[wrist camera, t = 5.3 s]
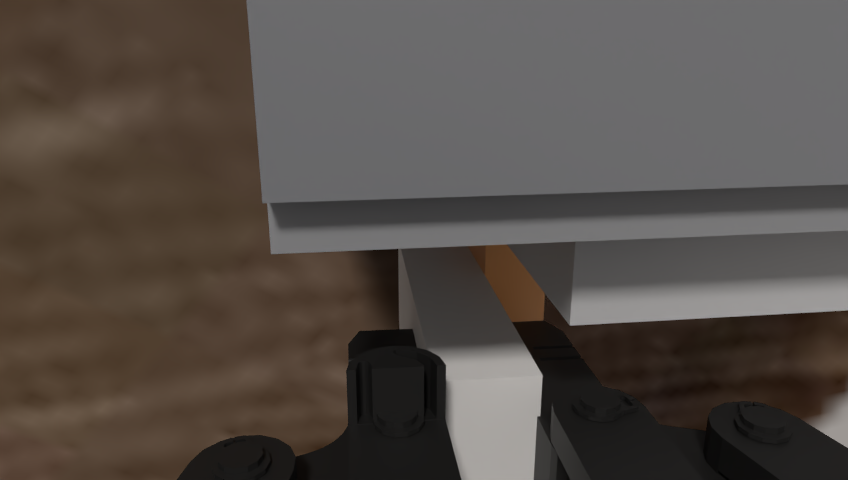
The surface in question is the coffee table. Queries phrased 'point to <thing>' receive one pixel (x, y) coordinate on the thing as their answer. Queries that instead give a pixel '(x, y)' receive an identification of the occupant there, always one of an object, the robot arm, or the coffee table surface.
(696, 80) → the box
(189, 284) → the coffee table surface
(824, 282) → the side door
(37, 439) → the coffee table surface
